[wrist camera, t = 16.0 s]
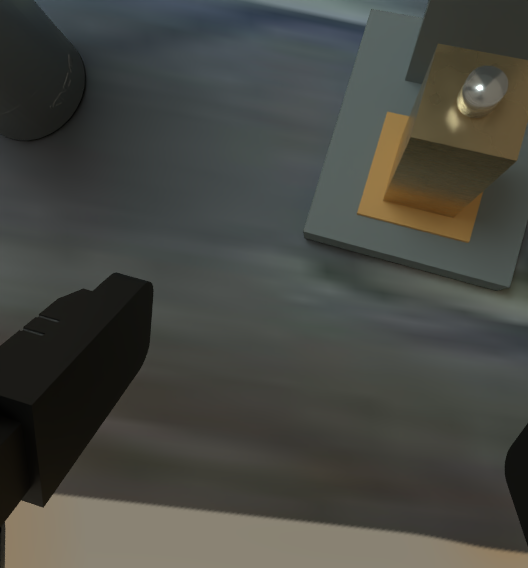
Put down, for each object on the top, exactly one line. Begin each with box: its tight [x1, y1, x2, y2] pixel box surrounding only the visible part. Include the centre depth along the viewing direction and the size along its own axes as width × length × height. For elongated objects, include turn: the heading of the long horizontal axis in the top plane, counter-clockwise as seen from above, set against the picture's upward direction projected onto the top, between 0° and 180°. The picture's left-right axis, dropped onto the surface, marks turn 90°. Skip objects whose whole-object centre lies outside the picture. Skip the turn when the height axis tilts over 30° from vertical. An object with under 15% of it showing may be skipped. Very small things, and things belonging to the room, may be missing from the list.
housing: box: [383, 44, 528, 218], centre depth 22 cm, size 4×4×10 cm
